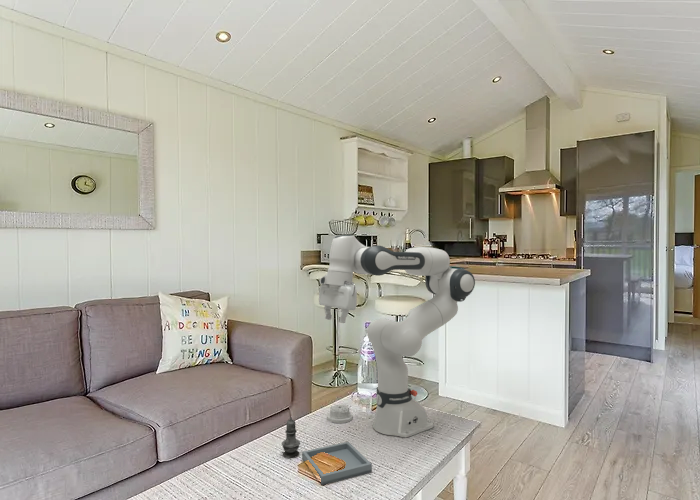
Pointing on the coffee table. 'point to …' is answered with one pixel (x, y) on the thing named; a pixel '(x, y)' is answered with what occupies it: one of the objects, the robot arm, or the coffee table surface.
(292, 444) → the dark stone stupa
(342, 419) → the mechanical component
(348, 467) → the tray
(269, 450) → the coffee table surface
